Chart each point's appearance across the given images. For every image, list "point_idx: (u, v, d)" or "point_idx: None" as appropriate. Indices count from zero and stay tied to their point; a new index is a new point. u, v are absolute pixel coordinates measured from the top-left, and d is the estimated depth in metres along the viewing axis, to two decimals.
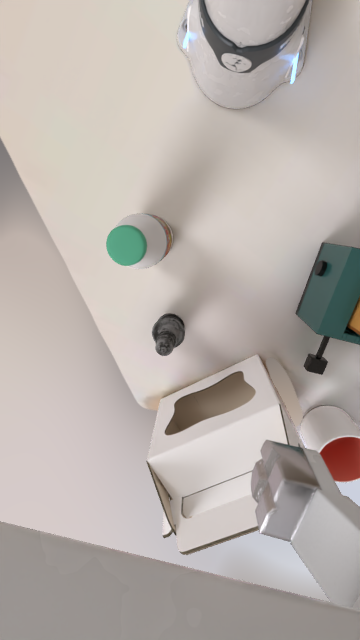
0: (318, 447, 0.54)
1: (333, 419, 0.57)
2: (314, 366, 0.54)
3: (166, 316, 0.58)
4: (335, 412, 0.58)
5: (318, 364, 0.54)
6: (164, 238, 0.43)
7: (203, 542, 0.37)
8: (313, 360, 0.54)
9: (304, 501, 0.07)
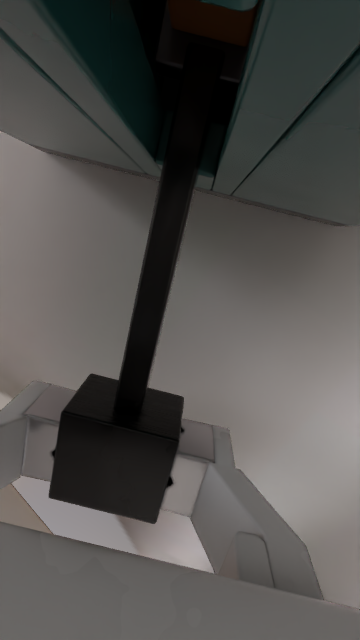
0: None
1: None
2: (88, 471, 0.07)
3: None
4: None
5: (113, 458, 0.07)
6: None
7: None
8: (69, 432, 0.07)
9: (199, 476, 0.07)
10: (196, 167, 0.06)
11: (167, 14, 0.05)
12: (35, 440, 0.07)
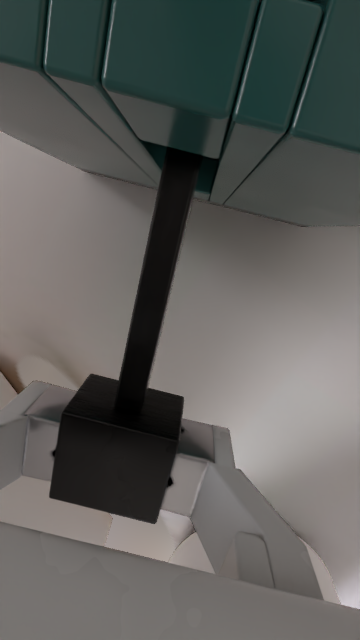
0: None
1: None
2: (89, 471, 0.07)
3: None
4: None
5: (114, 458, 0.07)
6: None
7: None
8: (69, 432, 0.07)
9: (199, 475, 0.07)
10: (196, 168, 0.06)
11: None
12: (35, 440, 0.07)
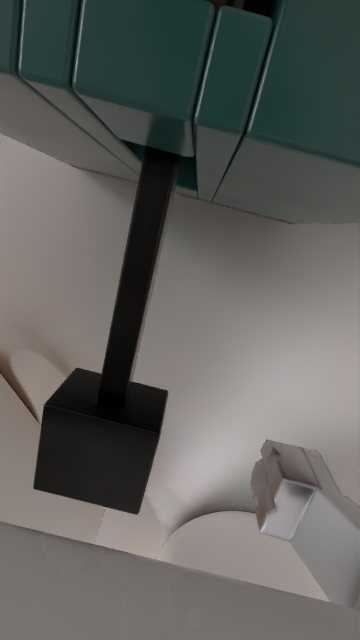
0: None
1: None
2: (72, 462, 0.08)
3: None
4: (249, 556, 0.15)
5: (96, 450, 0.07)
6: None
7: None
8: (51, 424, 0.07)
9: (304, 501, 0.07)
10: (175, 164, 0.06)
11: None
12: None
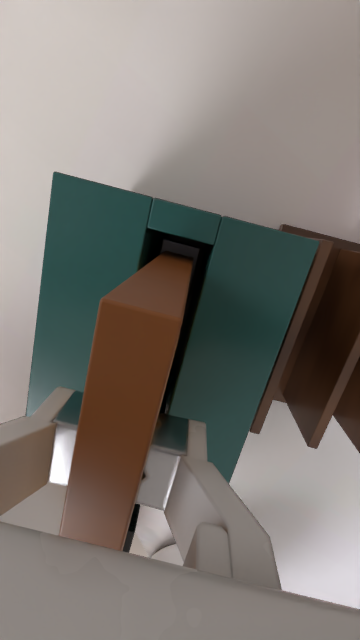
0: None
1: None
2: None
3: None
4: None
5: None
6: None
7: None
8: None
9: (171, 469, 0.07)
10: None
11: None
12: (63, 447, 0.07)
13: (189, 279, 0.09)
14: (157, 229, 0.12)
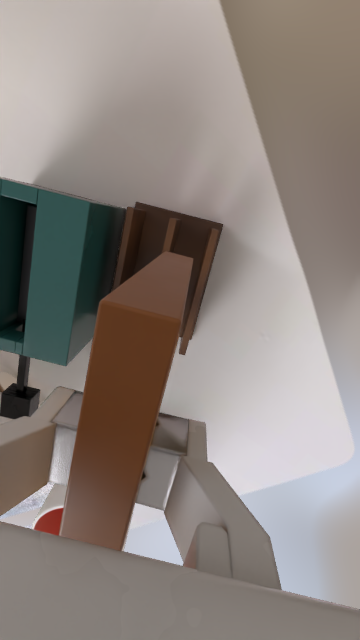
0: None
1: None
2: (9, 408, 0.30)
3: None
4: None
5: (15, 404, 0.29)
6: None
7: None
8: (3, 398, 0.29)
9: (171, 468, 0.07)
10: None
11: (18, 314, 0.27)
12: (63, 447, 0.07)
13: (189, 280, 0.09)
14: (6, 196, 0.22)
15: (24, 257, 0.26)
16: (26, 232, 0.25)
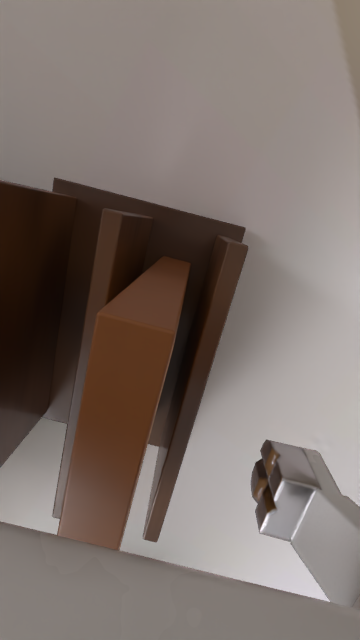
0: None
1: None
2: None
3: None
4: None
5: None
6: None
7: None
8: None
9: (304, 501, 0.07)
10: None
11: None
12: None
13: (185, 287, 0.09)
14: None
15: None
16: None
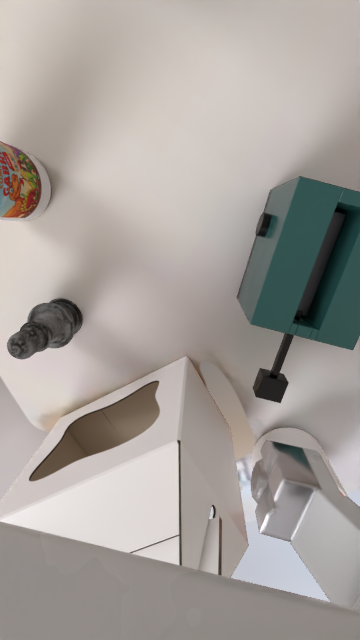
0: None
1: None
2: (267, 389, 0.33)
3: (54, 302, 0.41)
4: (296, 438, 0.41)
5: (273, 386, 0.33)
6: None
7: None
8: (264, 380, 0.33)
9: (304, 501, 0.07)
10: None
11: None
12: None
13: None
14: (343, 202, 0.25)
15: None
16: None
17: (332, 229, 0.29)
